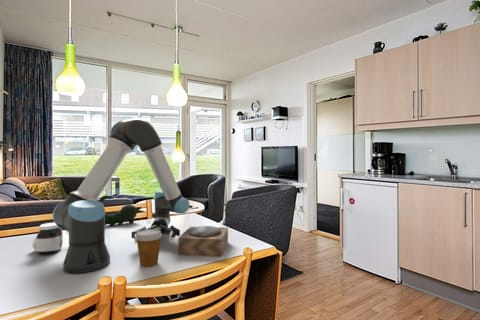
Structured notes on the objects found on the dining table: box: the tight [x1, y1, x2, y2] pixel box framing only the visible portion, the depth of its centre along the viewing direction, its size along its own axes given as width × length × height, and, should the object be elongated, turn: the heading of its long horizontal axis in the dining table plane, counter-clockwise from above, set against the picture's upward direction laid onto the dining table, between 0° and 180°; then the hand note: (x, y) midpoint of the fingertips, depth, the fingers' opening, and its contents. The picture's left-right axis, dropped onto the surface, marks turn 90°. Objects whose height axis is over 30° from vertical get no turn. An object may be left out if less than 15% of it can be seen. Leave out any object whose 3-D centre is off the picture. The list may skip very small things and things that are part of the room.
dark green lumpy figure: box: [97, 194, 143, 227], centre depth 162 cm, size 9×19×25 cm
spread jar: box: [31, 222, 64, 256], centre depth 116 cm, size 12×11×12 cm
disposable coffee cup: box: [135, 229, 163, 268], centre depth 103 cm, size 10×10×12 cm
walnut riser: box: [177, 225, 229, 257], centre depth 120 cm, size 18×18×8 cm
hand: (153, 239), depth 111 cm, fingers open, 13 cm apart
